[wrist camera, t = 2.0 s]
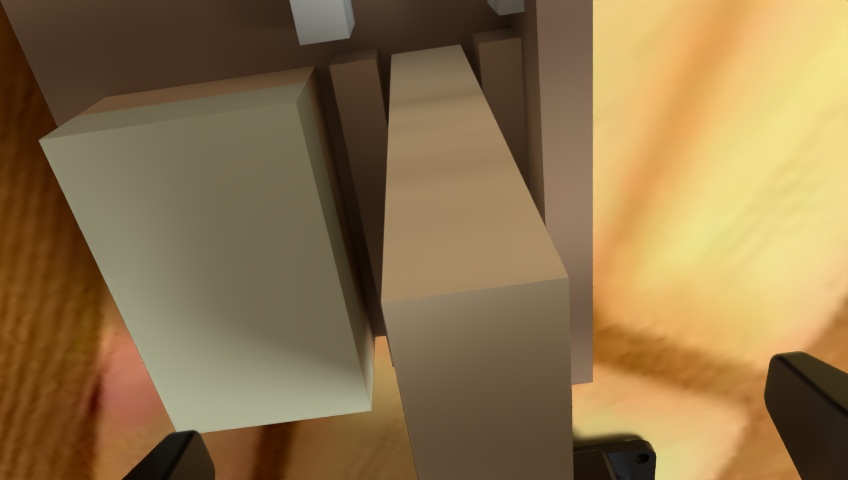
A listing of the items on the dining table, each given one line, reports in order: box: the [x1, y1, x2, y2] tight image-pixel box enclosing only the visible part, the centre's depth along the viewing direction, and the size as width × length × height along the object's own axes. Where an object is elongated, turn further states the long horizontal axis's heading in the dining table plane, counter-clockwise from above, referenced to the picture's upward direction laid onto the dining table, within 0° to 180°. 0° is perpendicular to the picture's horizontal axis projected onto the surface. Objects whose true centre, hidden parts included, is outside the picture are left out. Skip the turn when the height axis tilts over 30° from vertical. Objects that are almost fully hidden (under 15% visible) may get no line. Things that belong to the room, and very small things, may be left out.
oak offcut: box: [77, 66, 375, 371], centre depth 15 cm, size 8×5×2 cm, turn 8°
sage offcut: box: [39, 82, 373, 433], centre depth 14 cm, size 8×5×2 cm, turn 8°
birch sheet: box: [381, 44, 574, 480], centre depth 11 cm, size 8×2×10 cm, turn 8°
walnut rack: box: [0, 0, 593, 385], centre depth 13 cm, size 17×12×4 cm
